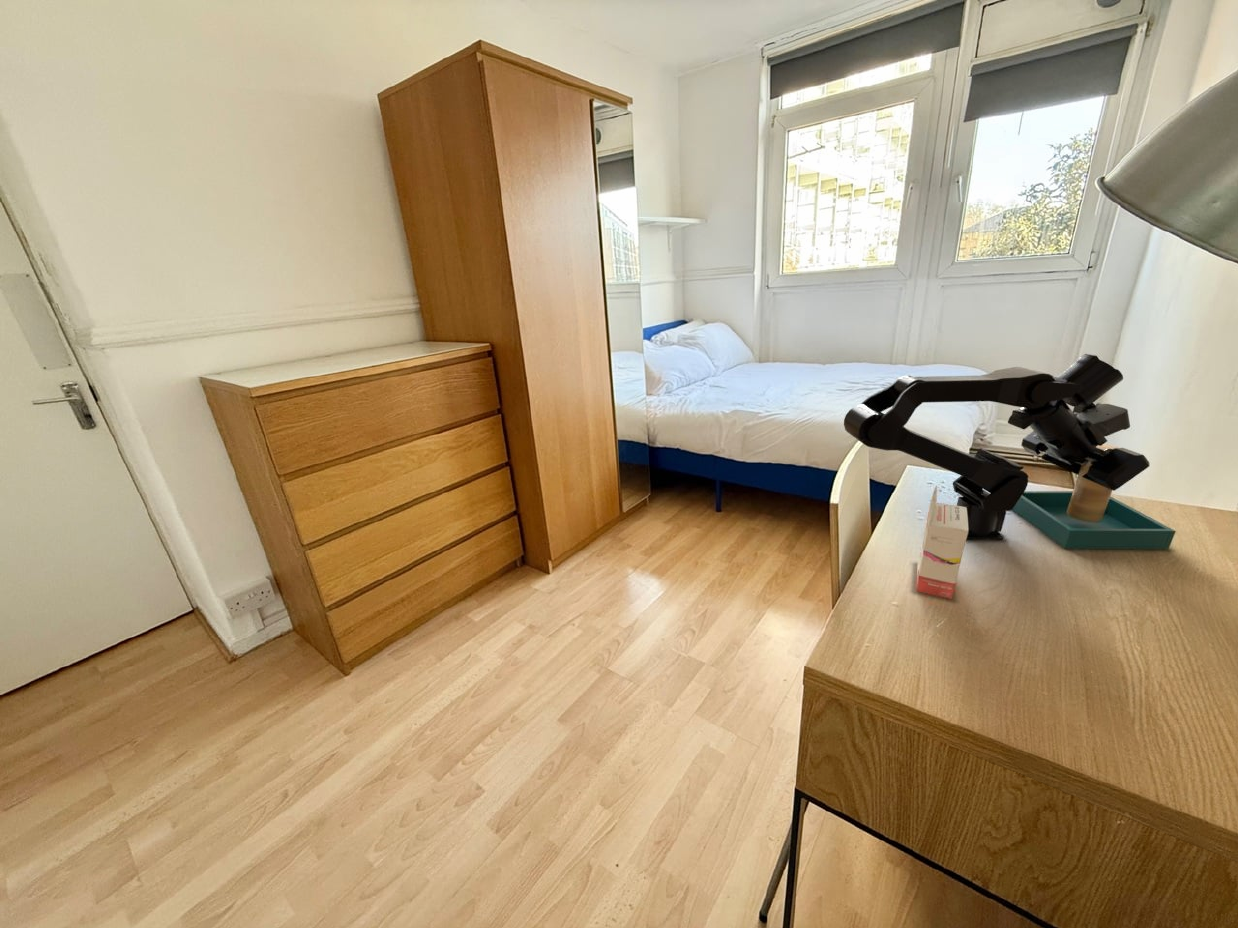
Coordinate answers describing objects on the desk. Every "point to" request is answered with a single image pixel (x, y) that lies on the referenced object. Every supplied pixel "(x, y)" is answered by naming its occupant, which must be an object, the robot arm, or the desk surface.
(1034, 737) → the desk surface
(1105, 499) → the wood cylinder
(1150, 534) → the teal serving tray
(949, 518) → the ink cartridge box
